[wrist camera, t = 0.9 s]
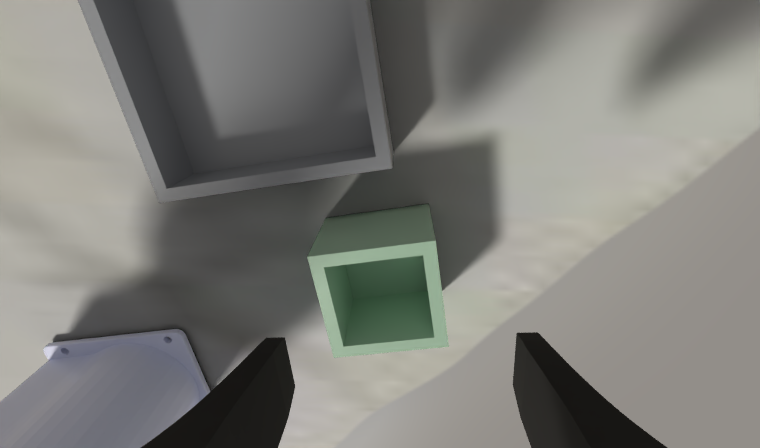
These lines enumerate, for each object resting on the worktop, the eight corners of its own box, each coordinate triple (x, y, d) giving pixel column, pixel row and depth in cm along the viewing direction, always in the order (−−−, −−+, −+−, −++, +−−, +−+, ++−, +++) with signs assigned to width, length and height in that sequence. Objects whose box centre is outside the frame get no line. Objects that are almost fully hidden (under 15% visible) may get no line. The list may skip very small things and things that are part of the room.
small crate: (346, 303, 23) (333, 357, 19) (325, 217, 21) (307, 257, 17) (440, 293, 22) (448, 346, 18) (428, 203, 20) (435, 240, 16)
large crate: (192, 184, 21) (159, 203, 18) (104, -57, 17) (45, -81, 14) (393, 152, 19) (392, 168, 17) (352, -115, 15) (341, -153, 13)
